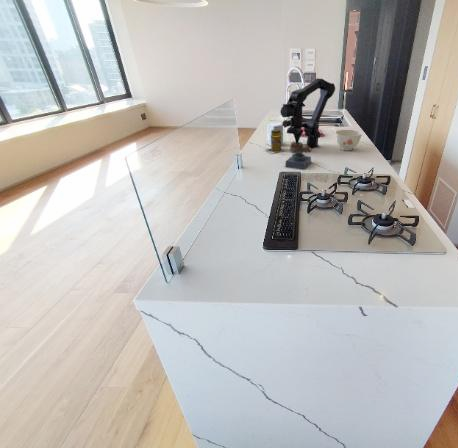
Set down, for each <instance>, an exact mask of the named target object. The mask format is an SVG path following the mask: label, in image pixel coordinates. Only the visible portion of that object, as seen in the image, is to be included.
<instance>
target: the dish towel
mask: <svg viewBox="0 0 458 448" xmlns="http://www.w3.org/2000/svg"><path fill="white" fill-rule="evenodd" d="M301 130H304V127H301ZM318 131H319V132H320V133H321V136H320V137H324V132H322V131H321V130H320V128H319V129H318ZM301 137H307V136H306V135H305V132H304V131H303V133H302V135H301Z"/></svg>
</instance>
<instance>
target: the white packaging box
mask: <svg viewBox="0 0 458 448" xmlns="http://www.w3.org/2000/svg"><path fill="white" fill-rule="evenodd" d="M272 130H280V135H281V146H283V145H284V126H283V125H282V124H281V123H277V122H275V123H267V124H266V133H267V134H266V135H267V137H266V138H267V145H269V146H271V131H272Z"/></svg>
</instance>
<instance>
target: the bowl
mask: <svg viewBox="0 0 458 448" xmlns="http://www.w3.org/2000/svg"><path fill="white" fill-rule="evenodd" d="M334 134H335V139H336V143H337V145H338V146H339V147H340V148H341V149H342V150H343V151H352V150H353V149H354V148H356V147H357V146H358V144H359V143H360V141H361V138H362V135H363V133H362V132H361V131H359V130H355V129H338V130H336V131H335V132H334Z"/></svg>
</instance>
